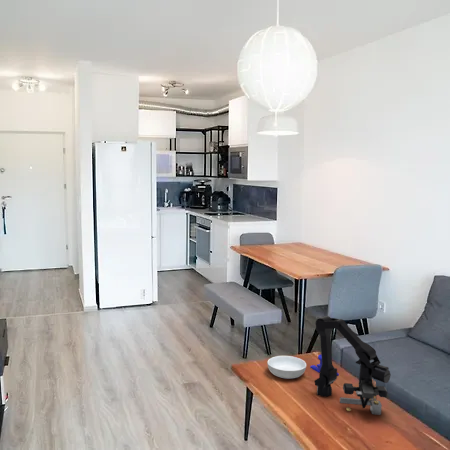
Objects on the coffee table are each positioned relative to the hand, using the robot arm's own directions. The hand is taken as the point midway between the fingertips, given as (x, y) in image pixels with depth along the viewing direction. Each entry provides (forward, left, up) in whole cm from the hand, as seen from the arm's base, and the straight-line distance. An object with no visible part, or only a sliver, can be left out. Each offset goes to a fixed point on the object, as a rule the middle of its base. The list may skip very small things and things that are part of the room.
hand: (363, 407), depth 211 cm
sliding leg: (+5, +2, -2) cm, 6 cm away
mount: (-14, +44, -3) cm, 46 cm away
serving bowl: (-35, +36, -3) cm, 50 cm away
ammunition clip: (+4, +14, -3) cm, 15 cm away
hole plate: (-1, +1, -3) cm, 3 cm away
